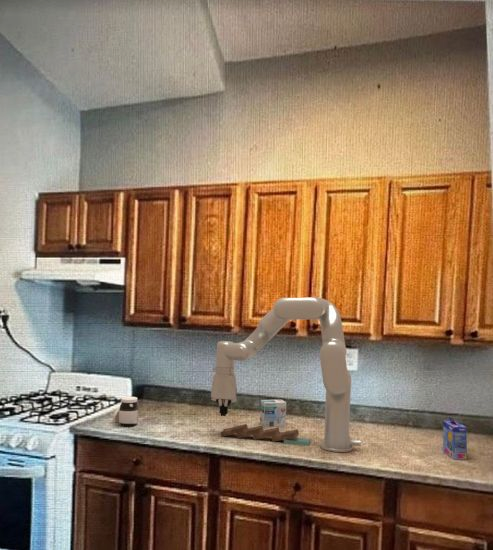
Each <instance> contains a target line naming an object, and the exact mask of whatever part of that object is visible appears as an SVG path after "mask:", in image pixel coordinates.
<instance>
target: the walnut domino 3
mask: <svg viewBox="0 0 493 550" xmlns="http://www.w3.org/2000/svg"><path fill="white" fill-rule="evenodd" d="M279 427H280V426H277V427H273V428H268V429H263V431H262V433H260V434H256V435H252V439H253V440H254V441H255V440H261V439H266V438H271V437H272V436H277V435H278V434H279V433H280V429H279Z"/></svg>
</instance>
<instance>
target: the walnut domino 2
mask: <svg viewBox="0 0 493 550" xmlns="http://www.w3.org/2000/svg"><path fill="white" fill-rule="evenodd" d="M263 430H264V426H262V425H258V426H254V427H248V429H247V430H246V431H245V432H242V433H237V434H236V436H237V439H242V438H247V437H251V436H253V435H256V434H260V433H262V431H263Z"/></svg>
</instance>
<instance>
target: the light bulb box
mask: <svg viewBox="0 0 493 550" xmlns="http://www.w3.org/2000/svg"><path fill="white" fill-rule="evenodd" d="M259 411H260V416H259V424H261V425H260V426H262V427H263V428H271V427H273V428H278V427H286V424H287V423H286V421H287V420H286V419H287V401H284V400H283V399H260V410H259Z"/></svg>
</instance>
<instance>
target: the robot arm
mask: <svg viewBox="0 0 493 550" xmlns="http://www.w3.org/2000/svg"><path fill="white" fill-rule="evenodd" d="M291 320H295V321H297V320H318V321H319V324H320V332H321V338H322V339H321V340H322V345H321V347H320V349H319V359H320V368H321V375H322V383H323V386H324V389H325V407H324V440H322V441H321V442H320V444H319V446H320V448H321V449H323V450H326V451H329V452H333V453H348V452H351V451H352V450H354V446H356V447H361V446H362V441H361V440H358V439H356V438H355V439H353V438H351V435H350V425H351V423H350V422H351V421H350V418H351V417H350V416H351V389H352V377H351V376H352V375H351V373H350V371H349V370H348V367H347V366H348V365H347V359H346V356H347V346H346V342H345V335H344V334H345V333H344V329H343V323H342V317H341V314H340V312H339V310H338V308H337V306H335V304H334V303H332V302H330V301H329V300H327V299H325V298H323V297H318V296H314V297H313V296H312V297H281V298H278V299H277V300H276V301H275V302H274V305H273V307H272V308H271V309H270V310H269V311H268V312H267V313H266V314H265V315H264V316H263V317H262V318H261V319H260V320H259V321H258V324H257V327H256V328H255V329H254V330H253V332H252V333H251V334H250V335H249V336H248V337H247V338H245V339H244V340H243V341H241V342H233V341H230V340H229V341H228V340H219V341H218V342H217V344H216V356H215V357H216V360H215V365H216V366H215V367H212V371H213V372H215V373H213V377H212V382H211V393H210V396H211V399H210V400H211V401H214V402H216V403H217V404H218V406H219V414H220V417H225V416H226V415H227V414H228V412H229V409H228V408H229V405H230V404H232V403H236V402H237V401H238V400H237V393H238V388H237V385H238V384H237V377H236V376H237V375H236V374H235V361H239V362H244V361H246V360H249V359H251V358H252V357H254V356H255V355H256V354H257V353H258V352H259V351H260V350H262V348H263V347H264V346H265V345H267V343H268V342H269V341H270V340H272V338H274V337H275V336H276V335H277V334H278V332H280V331H281V330H282V329H283V327H285V325H287V324H288V323H289V322H290V321H291Z"/></svg>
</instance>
